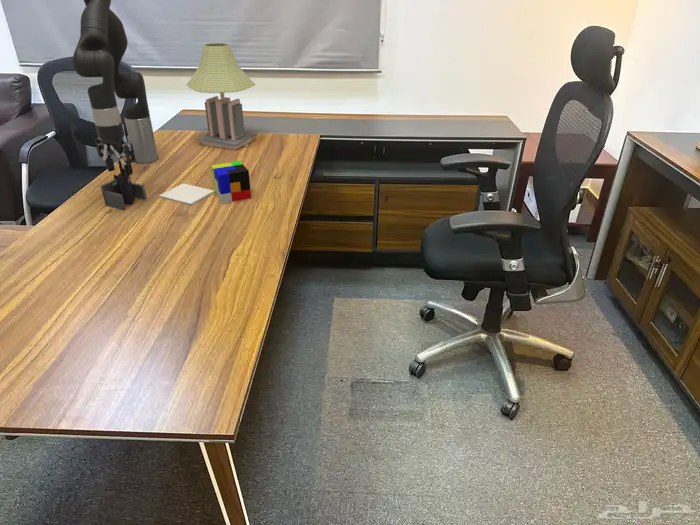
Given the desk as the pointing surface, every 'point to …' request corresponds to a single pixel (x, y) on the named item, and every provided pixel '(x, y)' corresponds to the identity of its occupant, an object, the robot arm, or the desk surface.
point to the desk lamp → (222, 96)
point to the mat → (186, 194)
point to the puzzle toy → (231, 182)
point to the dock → (114, 196)
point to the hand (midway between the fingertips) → (120, 172)
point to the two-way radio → (125, 186)
